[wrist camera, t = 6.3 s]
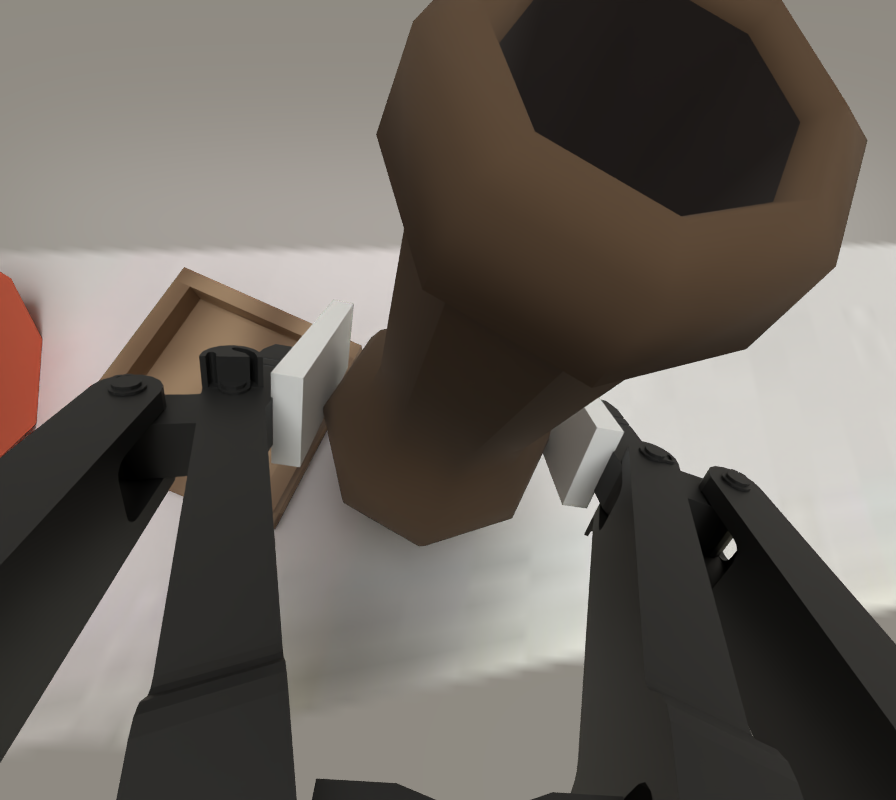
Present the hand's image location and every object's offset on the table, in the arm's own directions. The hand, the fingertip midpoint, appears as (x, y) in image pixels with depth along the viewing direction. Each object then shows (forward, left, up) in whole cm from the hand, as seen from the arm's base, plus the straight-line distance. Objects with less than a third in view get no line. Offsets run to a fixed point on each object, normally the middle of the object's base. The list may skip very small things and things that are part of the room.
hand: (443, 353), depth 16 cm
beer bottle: (+1, -3, -11) cm, 11 cm away
